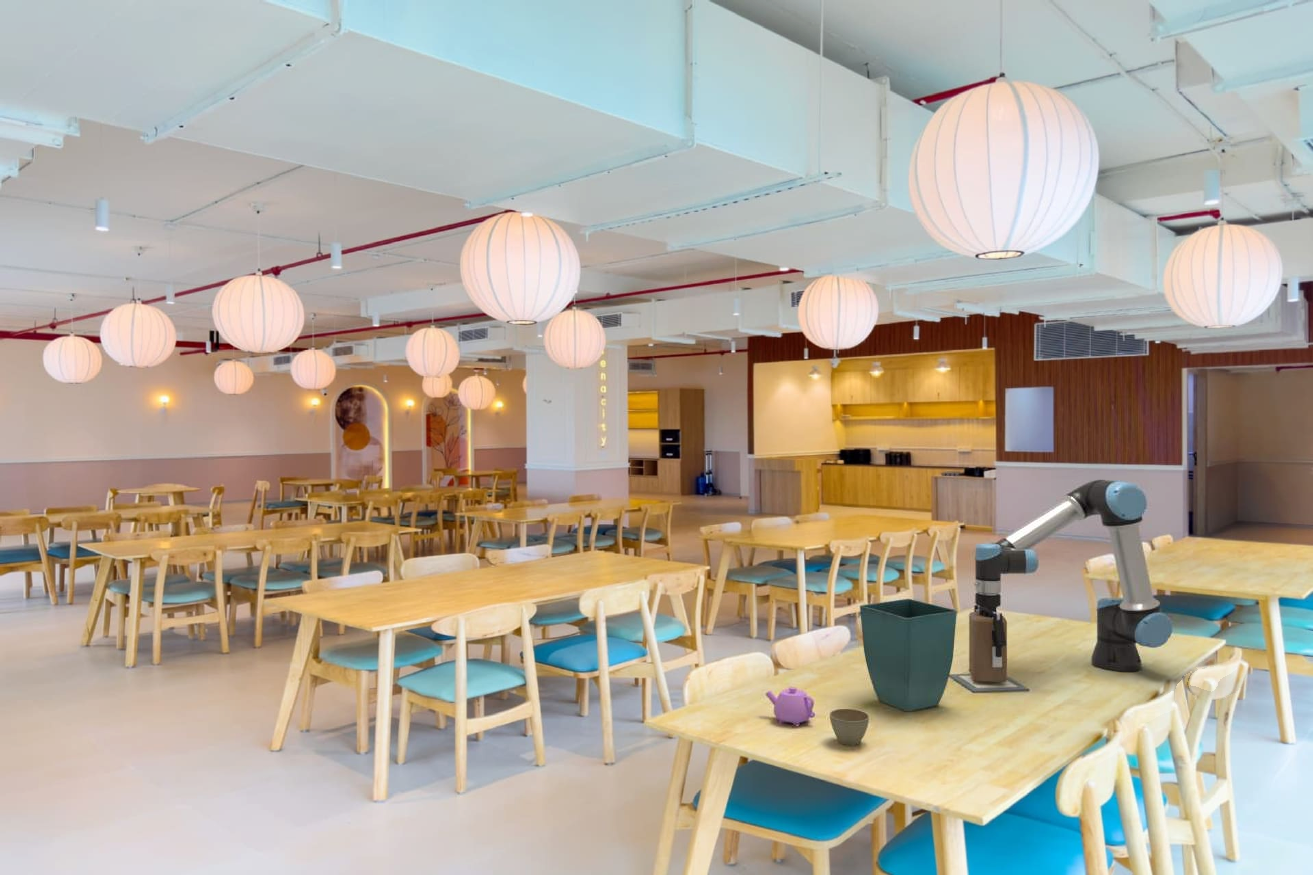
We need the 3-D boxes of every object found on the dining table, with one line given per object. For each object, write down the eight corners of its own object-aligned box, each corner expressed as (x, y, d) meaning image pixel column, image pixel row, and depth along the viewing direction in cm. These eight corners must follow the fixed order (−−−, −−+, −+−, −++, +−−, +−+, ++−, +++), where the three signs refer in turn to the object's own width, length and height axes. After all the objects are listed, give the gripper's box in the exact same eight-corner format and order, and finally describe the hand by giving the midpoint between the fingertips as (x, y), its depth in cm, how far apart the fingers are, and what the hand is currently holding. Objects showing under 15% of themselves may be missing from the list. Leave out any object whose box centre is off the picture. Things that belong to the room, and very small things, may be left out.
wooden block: (1007, 683, 269) (1007, 619, 269) (973, 681, 271) (973, 617, 271) (1001, 674, 279) (1001, 612, 279) (968, 672, 281) (968, 611, 281)
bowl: (824, 736, 228) (824, 708, 228) (862, 734, 229) (862, 707, 229) (835, 749, 218) (835, 721, 218) (874, 748, 219) (874, 720, 219)
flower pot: (906, 718, 242) (906, 617, 241) (858, 699, 259) (858, 604, 259) (958, 708, 251) (958, 610, 251) (908, 689, 269) (908, 598, 268)
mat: (1000, 674, 285) (1000, 672, 285) (1029, 690, 267) (1029, 688, 267) (948, 676, 283) (948, 673, 283) (973, 692, 265) (973, 690, 265)
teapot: (806, 731, 232) (806, 696, 232) (756, 720, 241) (756, 686, 241) (823, 720, 240) (823, 687, 240) (774, 710, 249) (774, 678, 249)
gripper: (959, 586, 286) (959, 652, 287) (994, 600, 263) (994, 672, 263) (981, 585, 287) (981, 651, 287) (1018, 599, 264) (1018, 671, 264)
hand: (987, 661), depth 275 cm, fingers closed on wooden block, 11 cm apart
